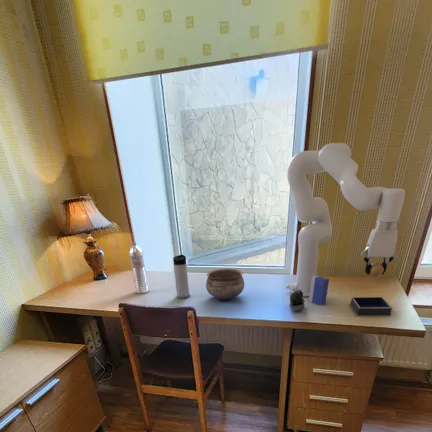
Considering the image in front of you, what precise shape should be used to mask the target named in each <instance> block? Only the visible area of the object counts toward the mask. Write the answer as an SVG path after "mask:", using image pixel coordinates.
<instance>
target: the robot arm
mask: <svg viewBox="0 0 432 432" xmlns="http://www.w3.org/2000/svg"><path fill="white" fill-rule="evenodd" d="M351 156H352V149H351V147H350V146H349V145H348V144H347V143H345V142H330V143H327V144H325V145H323V147H322V148H321V149H320V150H318V149H316V150H302V151H299V152H297V153H296V154H294V155H293V156H292V158H291V159H290V161H289V163H288V166H287V170H286V172H287V173H286V176H287V177H286V178H287V181H288V185H289V188H290V191H291V195H292V200H293V201H292V202H293V206H294V210H295V215H296V218H297V220H298V222H300V223H304V224H305V223H310V222H311V223H312V224H307V225H304V227H302V228H301V229H300V230H299V232H298V236H297V243H298V254H297V255H298V256H297V268H296V276H295V278H296V279H295V281H294V283H292V284H290V283H289V284H285V288H286V289H288V290H291V293H292V292H295V291H296V290H300V289H301V291H302V293H303V297H310V289H311V282H312V276H316V275H317V273H318V268H319V267H318V266H319V258H320V253H319V248H318V246H319V245H323V244H326V243H327V242H329V241H330V240H331V238H332V235H333V225H332V220H331V214H330V210H329V205H328V203H327V201H326V200H325V199H324V198H323V197H314V194H313V189H312V186H311V183H310V181H309V180H308V178H307V175H315V174H321V173H324V172H327V173H328V174H329V175H330V176H331V178H333V179H334V180H335V181H336V182H337V183H338V184H339V186H340V187H339V188H340V190H341V194H342V196H343V197H344V199H345V200H346V201H347V202H348V203H349V204H350V205H351V206H352V207H353V208H354V209H356V210H357V211H359V212H367V211H372V210H377V209H378V213H377V217H376V222H375V225H374V228H372V229H371V232H370V233H369V237H368V239H367V243H366V246H365V249H364V250H363V251H362V252H361V253H359V257H360V258H361V259H362V260H364V262H365V269H364V272H365V274H366V275H367V276H368V275H371V274H370V270H371V266H372V265H371V263H372V262H373V260H374V259H375V258H383V262H381V263H380V264H381V265H382V266H383V268H384V270H383V273H382V274H381V275H384V274H385V272H386V271H387V266H388V265H389V264H390V263H391V262H393V260H394V259H397V257H399V253H398V251H397V249H396V247H397V240H398V229H397V228H398V227H401V226H402V221H399V220H400V215H401V213H402V209H403V205H404V200H405V198H406V190H405V189H404V188H398V187H397V188H395V187H394V188H388V187H386V186H385V187H384V186H373V187H372V186H371V187H367V186H366V185H364V184H363V183H362V182H361V180H359V178H358V177H357V173H358V171H359V165H358V163H357V162H356V161H355V160H354V159H353V158H352V157H351ZM366 255H367V256H366ZM317 276H318V275H317Z"/></svg>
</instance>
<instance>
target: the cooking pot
mask: <svg viewBox="0 0 432 432" xmlns="http://www.w3.org/2000/svg"><path fill="white" fill-rule="evenodd" d="M243 275H244V272H243V271H242V270H240V269H236V268H217V269H212V270H210V271H208V272H206V276H207V277H206V278H207V279H206V282H205V288H206V291H207V292H208V294H209V295H211V297H213V298H215V299H218V300H220V301H230V300H232V299H234V298H236V297H238V296H239V295H240V294H242V292H243V291H244V289H245V279H244V277H243Z"/></svg>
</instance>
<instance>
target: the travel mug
mask: <svg viewBox="0 0 432 432" xmlns="http://www.w3.org/2000/svg"><path fill="white" fill-rule="evenodd" d="M172 262H173V272H174V280H175V281H174V282H175V288H176V297H177V299H182V300H183V299H188V298H189V297H190V290H189V289H190V288H189V277H188V266H187V256H186V255H185V254H179V255H175V256H174V257H173V258H172Z"/></svg>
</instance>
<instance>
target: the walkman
mask: <svg viewBox="0 0 432 432" xmlns="http://www.w3.org/2000/svg"><path fill="white" fill-rule="evenodd" d="M329 284H330V279H329V278H328V277H323V276H319V275H316V276H312V282H311V289H310V296H308V298H309V299H308V301H309V302H310V303H314V304H317V305H319V306H322V305H325V304H326V302H327V296H328V289H329Z"/></svg>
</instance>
